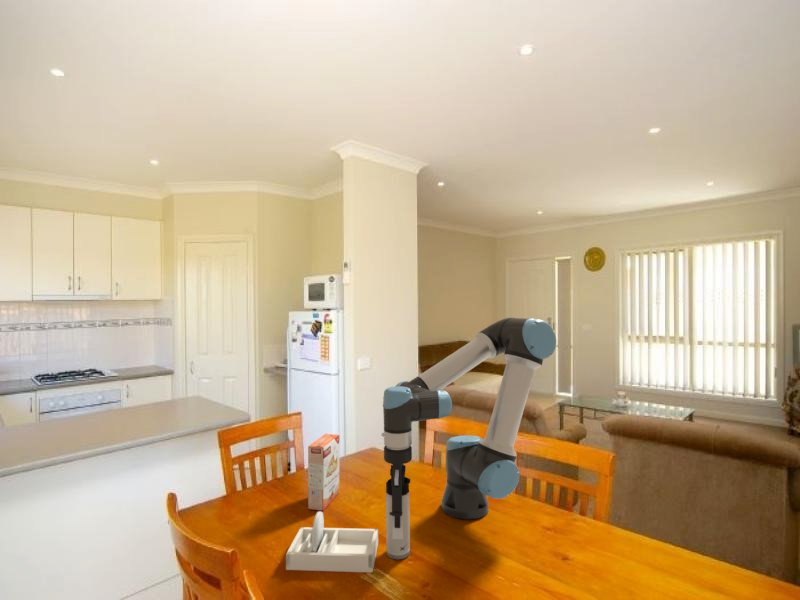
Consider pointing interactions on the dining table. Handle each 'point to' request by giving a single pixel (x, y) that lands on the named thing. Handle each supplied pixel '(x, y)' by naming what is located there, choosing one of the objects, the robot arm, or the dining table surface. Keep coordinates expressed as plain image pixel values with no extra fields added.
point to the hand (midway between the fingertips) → (398, 531)
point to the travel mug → (402, 546)
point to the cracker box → (323, 471)
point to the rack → (332, 548)
